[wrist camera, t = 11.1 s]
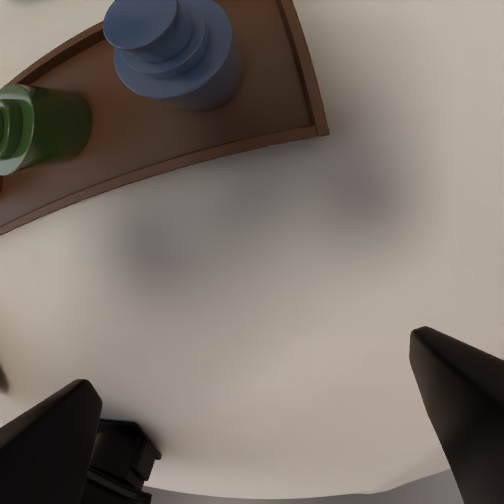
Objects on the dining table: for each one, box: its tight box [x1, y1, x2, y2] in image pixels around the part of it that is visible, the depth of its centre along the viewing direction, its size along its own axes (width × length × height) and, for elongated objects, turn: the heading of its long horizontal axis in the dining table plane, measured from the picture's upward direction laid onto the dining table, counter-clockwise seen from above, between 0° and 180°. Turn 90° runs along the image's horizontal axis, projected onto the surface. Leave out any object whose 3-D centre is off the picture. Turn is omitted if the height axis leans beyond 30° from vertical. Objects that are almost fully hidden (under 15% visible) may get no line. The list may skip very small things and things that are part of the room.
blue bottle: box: [103, 0, 244, 112], centre depth 10 cm, size 5×5×8 cm
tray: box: [0, 0, 329, 236], centre depth 15 cm, size 28×10×2 cm, turn 103°
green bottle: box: [0, 84, 92, 176], centre depth 11 cm, size 5×5×8 cm
